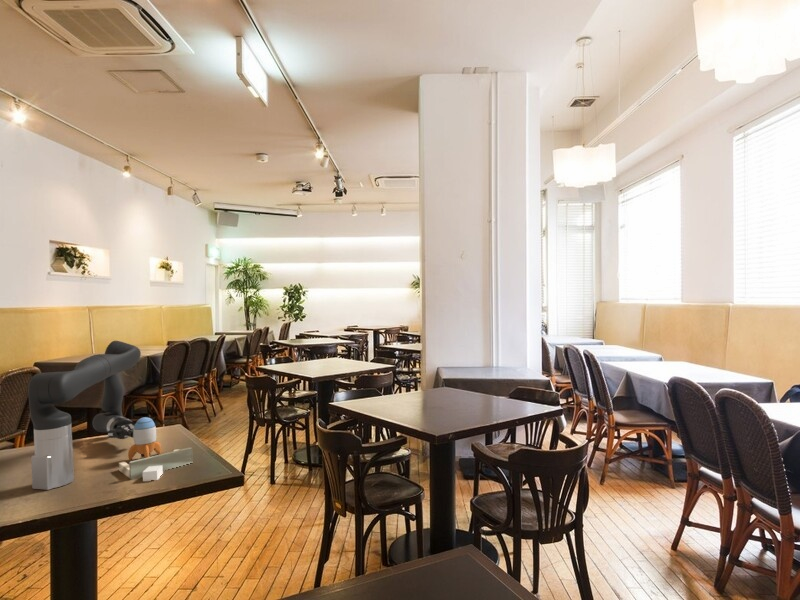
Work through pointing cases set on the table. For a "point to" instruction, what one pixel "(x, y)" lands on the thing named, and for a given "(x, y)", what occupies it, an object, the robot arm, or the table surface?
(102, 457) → the table surface
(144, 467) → the cradle
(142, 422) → the toy rocket
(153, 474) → the fin block
